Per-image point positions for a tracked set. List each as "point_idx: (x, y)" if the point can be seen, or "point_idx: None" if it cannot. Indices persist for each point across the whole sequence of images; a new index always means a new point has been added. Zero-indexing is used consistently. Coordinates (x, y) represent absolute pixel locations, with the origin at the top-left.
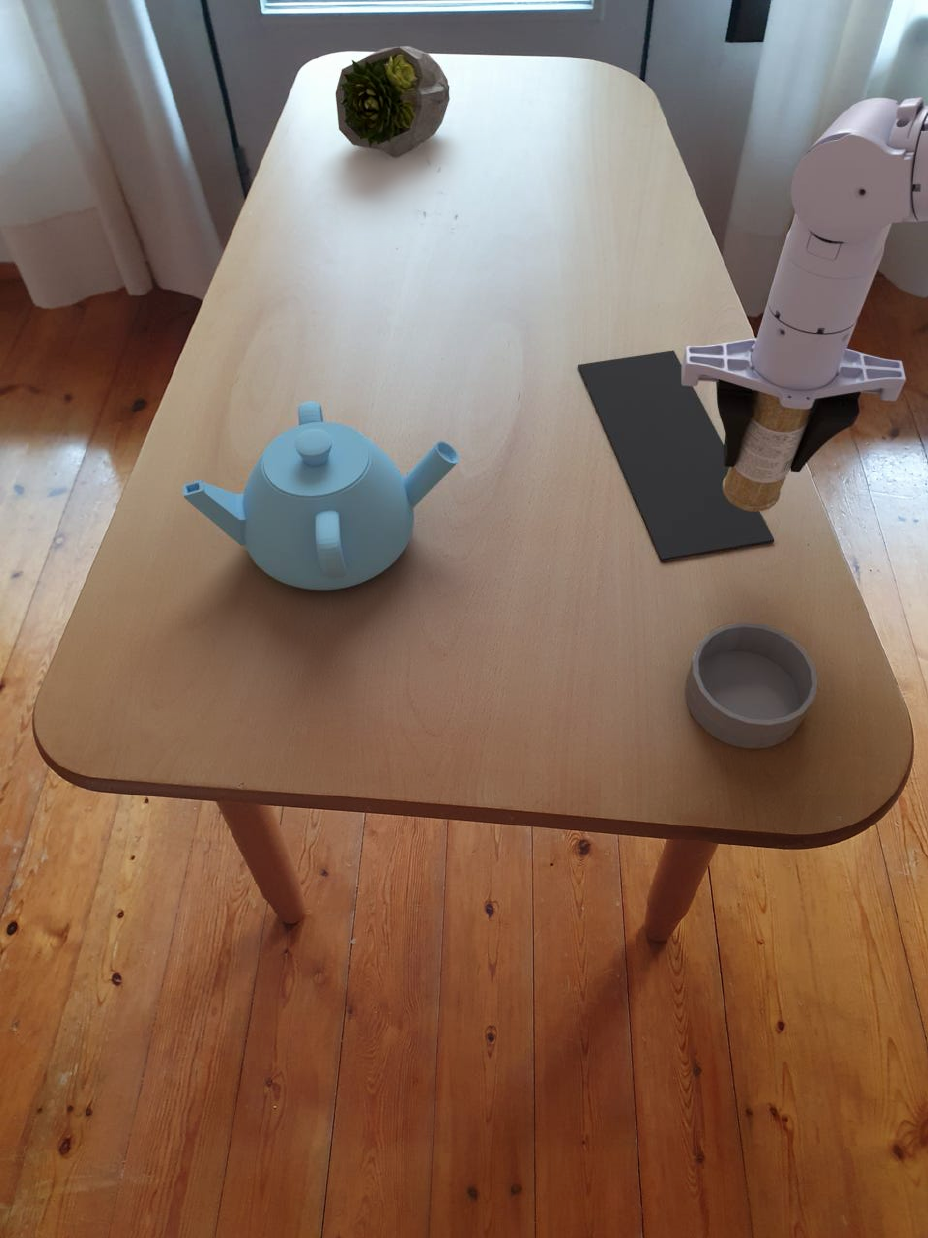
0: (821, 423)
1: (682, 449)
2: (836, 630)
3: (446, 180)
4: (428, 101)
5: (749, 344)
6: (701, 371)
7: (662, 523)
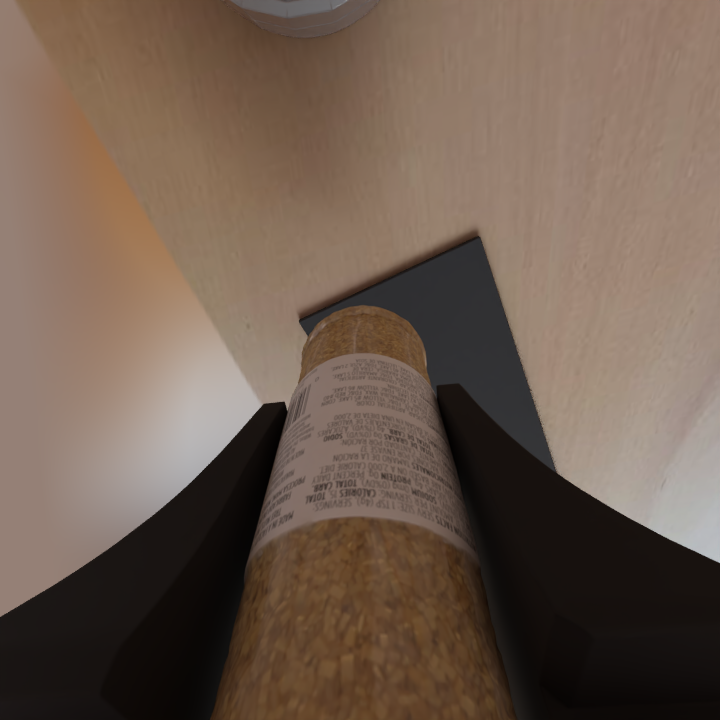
0: (144, 611)
1: None
2: (158, 146)
3: None
4: None
5: None
6: None
7: (476, 315)
